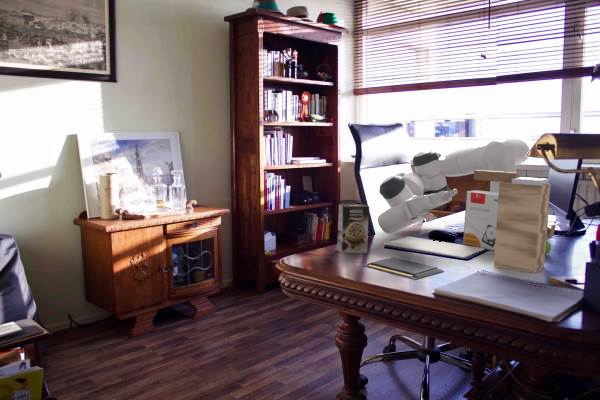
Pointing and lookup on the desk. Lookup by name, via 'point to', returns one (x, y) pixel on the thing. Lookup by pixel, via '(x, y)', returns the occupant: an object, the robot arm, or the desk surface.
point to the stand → (521, 226)
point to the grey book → (404, 268)
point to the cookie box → (353, 228)
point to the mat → (435, 247)
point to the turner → (508, 177)
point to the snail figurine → (549, 235)
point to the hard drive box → (481, 219)
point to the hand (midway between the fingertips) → (450, 191)
